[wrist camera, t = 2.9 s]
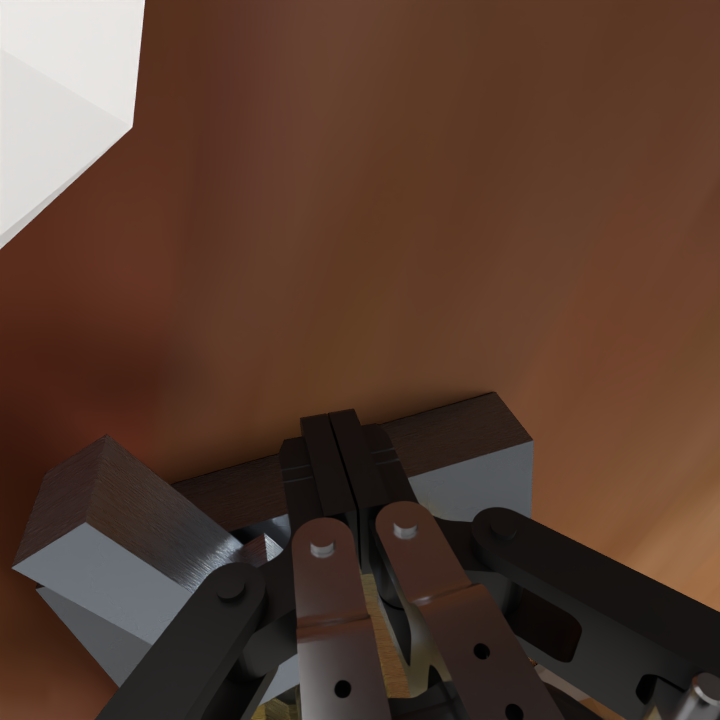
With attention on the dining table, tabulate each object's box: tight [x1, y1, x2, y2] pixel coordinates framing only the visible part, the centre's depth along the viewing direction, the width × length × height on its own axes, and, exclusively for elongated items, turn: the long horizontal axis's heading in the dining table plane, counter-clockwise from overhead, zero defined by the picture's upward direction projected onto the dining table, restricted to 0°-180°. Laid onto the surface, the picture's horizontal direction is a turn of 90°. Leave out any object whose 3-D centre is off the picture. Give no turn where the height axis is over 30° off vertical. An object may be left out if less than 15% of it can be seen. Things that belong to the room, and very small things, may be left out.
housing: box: [35, 392, 534, 720], centre depth 22 cm, size 17×17×8 cm
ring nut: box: [12, 434, 410, 720], centre depth 18 cm, size 21×12×5 cm, turn 29°
